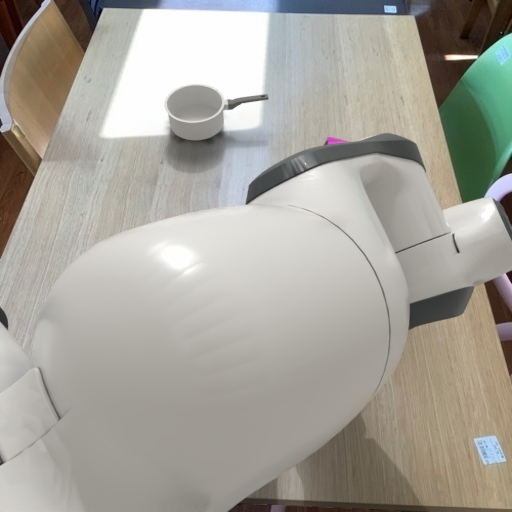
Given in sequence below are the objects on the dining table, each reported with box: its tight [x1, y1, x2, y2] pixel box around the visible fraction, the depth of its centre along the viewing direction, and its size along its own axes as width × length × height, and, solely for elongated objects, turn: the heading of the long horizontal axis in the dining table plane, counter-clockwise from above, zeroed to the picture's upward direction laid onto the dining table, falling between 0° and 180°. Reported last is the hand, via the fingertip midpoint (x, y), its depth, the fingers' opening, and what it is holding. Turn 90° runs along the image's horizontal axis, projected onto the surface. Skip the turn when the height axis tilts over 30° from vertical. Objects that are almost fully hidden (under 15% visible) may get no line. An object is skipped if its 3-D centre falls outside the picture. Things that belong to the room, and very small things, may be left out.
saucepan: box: [164, 83, 269, 141], centre depth 94 cm, size 12×20×6 cm, turn 99°
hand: (286, 312), depth 65 cm, fingers open, 8 cm apart
